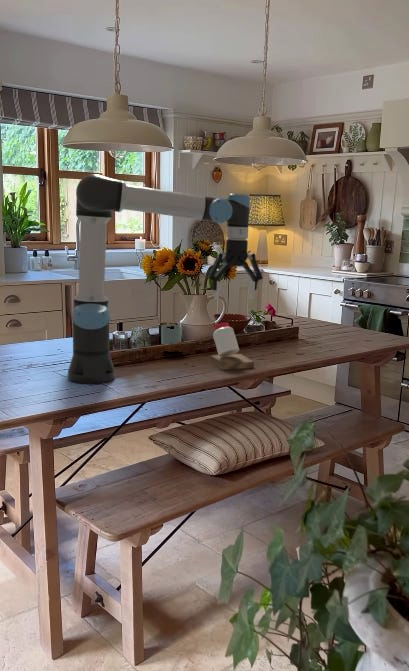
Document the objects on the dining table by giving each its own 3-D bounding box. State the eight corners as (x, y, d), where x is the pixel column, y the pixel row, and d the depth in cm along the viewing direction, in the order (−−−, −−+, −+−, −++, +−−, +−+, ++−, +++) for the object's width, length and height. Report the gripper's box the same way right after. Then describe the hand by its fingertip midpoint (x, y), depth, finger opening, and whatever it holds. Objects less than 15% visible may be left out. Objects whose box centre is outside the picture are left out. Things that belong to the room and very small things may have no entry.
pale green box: (178, 354, 235) (178, 329, 233) (158, 353, 236) (159, 327, 234) (182, 350, 242) (183, 325, 240) (164, 348, 244) (164, 324, 242)
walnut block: (222, 371, 215) (222, 363, 214) (210, 363, 226) (211, 355, 226) (253, 369, 219) (253, 361, 218) (240, 361, 230) (241, 353, 229)
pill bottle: (243, 349, 222) (235, 321, 225) (231, 348, 216) (222, 320, 219) (227, 357, 226) (219, 329, 229) (214, 356, 220) (206, 328, 223)
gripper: (207, 239, 205) (204, 301, 210) (274, 240, 214) (270, 300, 218) (199, 237, 212) (197, 298, 217) (264, 239, 221) (261, 297, 225)
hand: (234, 299), depth 217 cm, fingers open, 13 cm apart
